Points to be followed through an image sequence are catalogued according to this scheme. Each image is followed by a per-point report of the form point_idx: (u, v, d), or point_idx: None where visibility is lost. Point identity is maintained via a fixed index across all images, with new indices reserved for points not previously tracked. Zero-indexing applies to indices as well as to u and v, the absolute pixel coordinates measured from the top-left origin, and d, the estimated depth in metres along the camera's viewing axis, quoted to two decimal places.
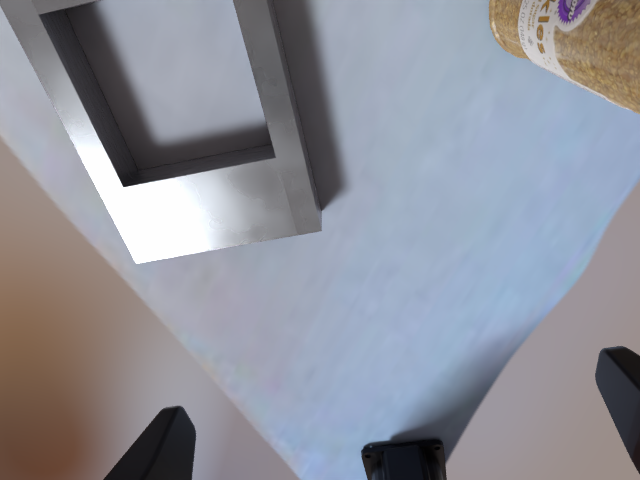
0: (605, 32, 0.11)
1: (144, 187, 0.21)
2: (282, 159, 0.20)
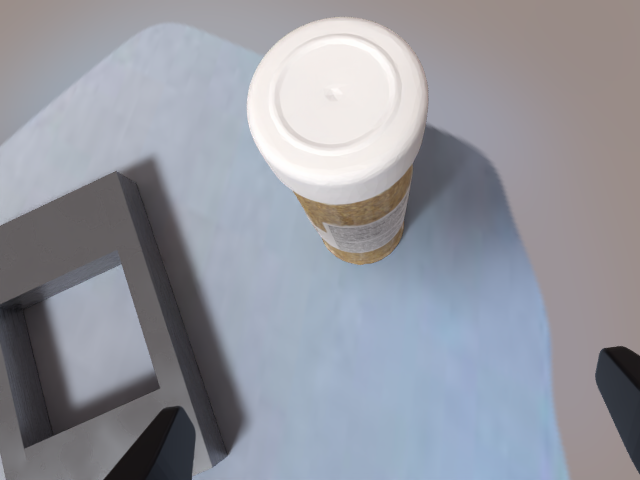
0: None
1: (42, 444, 0.22)
2: (165, 388, 0.21)
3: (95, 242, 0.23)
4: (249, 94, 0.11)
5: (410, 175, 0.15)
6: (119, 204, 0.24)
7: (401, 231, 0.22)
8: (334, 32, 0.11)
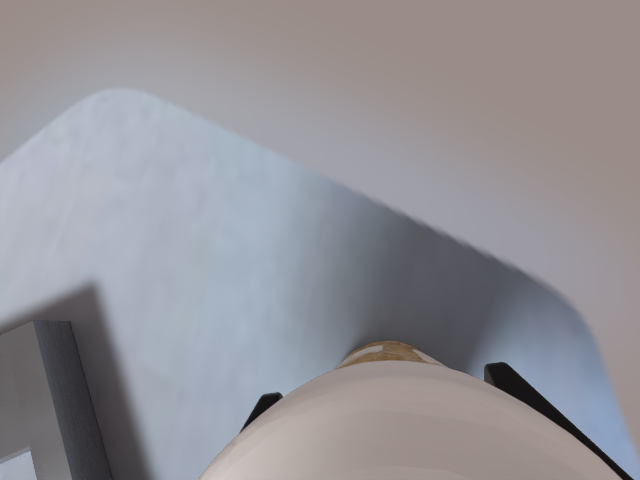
0: None
1: None
2: None
3: None
4: None
5: None
6: (34, 373, 0.16)
7: None
8: (409, 464, 0.03)
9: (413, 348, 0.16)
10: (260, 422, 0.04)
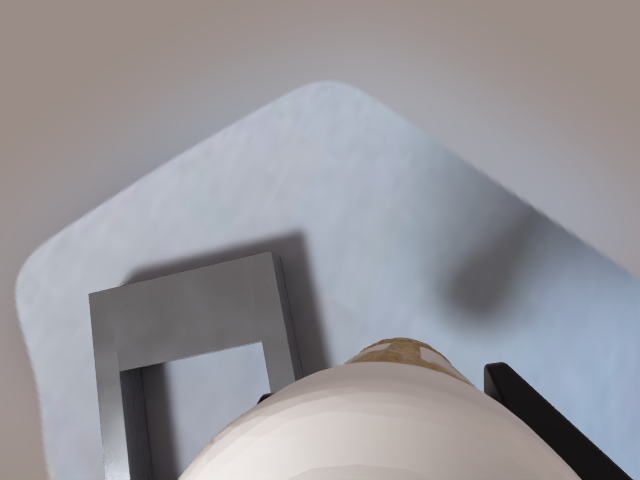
0: None
1: None
2: None
3: (239, 326, 0.22)
4: None
5: None
6: (269, 289, 0.22)
7: None
8: (371, 463, 0.04)
9: (424, 345, 0.16)
10: (236, 422, 0.04)
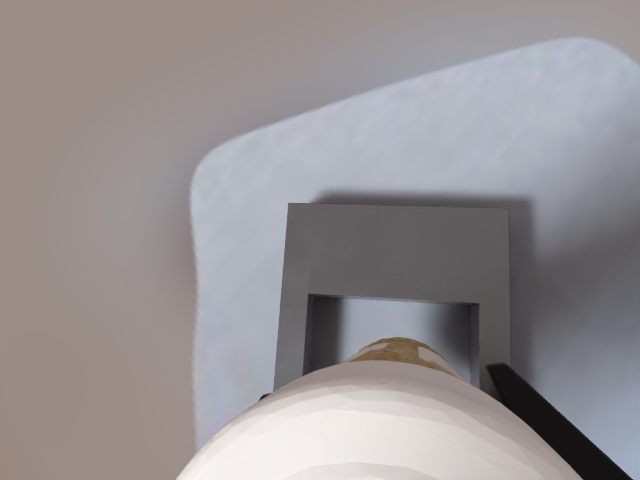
0: None
1: None
2: None
3: (455, 281, 0.19)
4: None
5: None
6: (499, 250, 0.19)
7: None
8: (371, 461, 0.04)
9: (422, 345, 0.16)
10: (236, 420, 0.04)
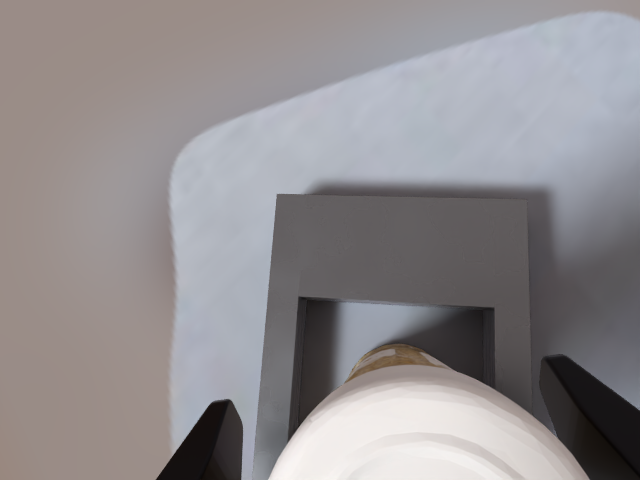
0: None
1: None
2: None
3: (466, 282, 0.17)
4: None
5: None
6: (517, 246, 0.17)
7: None
8: (425, 430, 0.05)
9: (420, 350, 0.18)
10: (328, 407, 0.06)
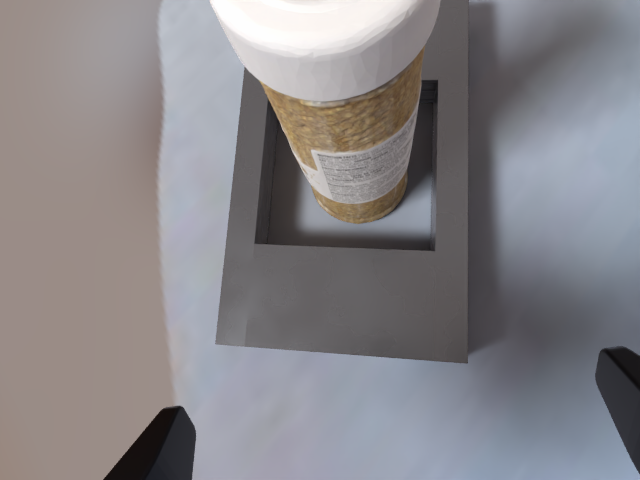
0: None
1: (276, 249, 0.19)
2: (442, 254, 0.17)
3: None
4: None
5: (418, 89, 0.12)
6: (458, 30, 0.19)
7: (405, 184, 0.20)
8: None
9: None
10: None
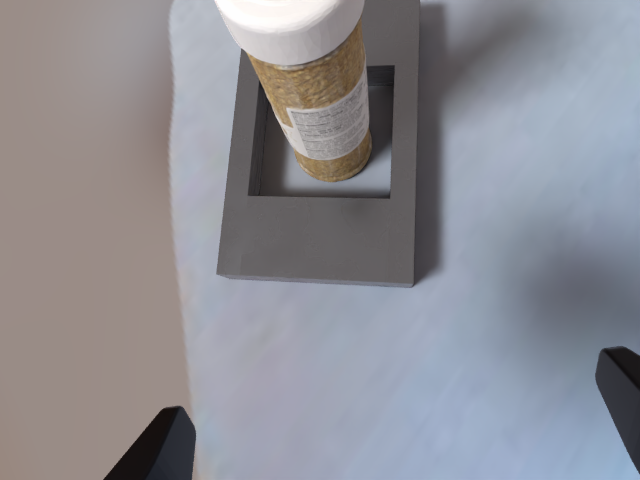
0: None
1: (265, 199, 0.23)
2: (395, 201, 0.22)
3: (376, 50, 0.24)
4: None
5: (363, 64, 0.17)
6: (411, 25, 0.24)
7: (369, 150, 0.24)
8: None
9: None
10: None
